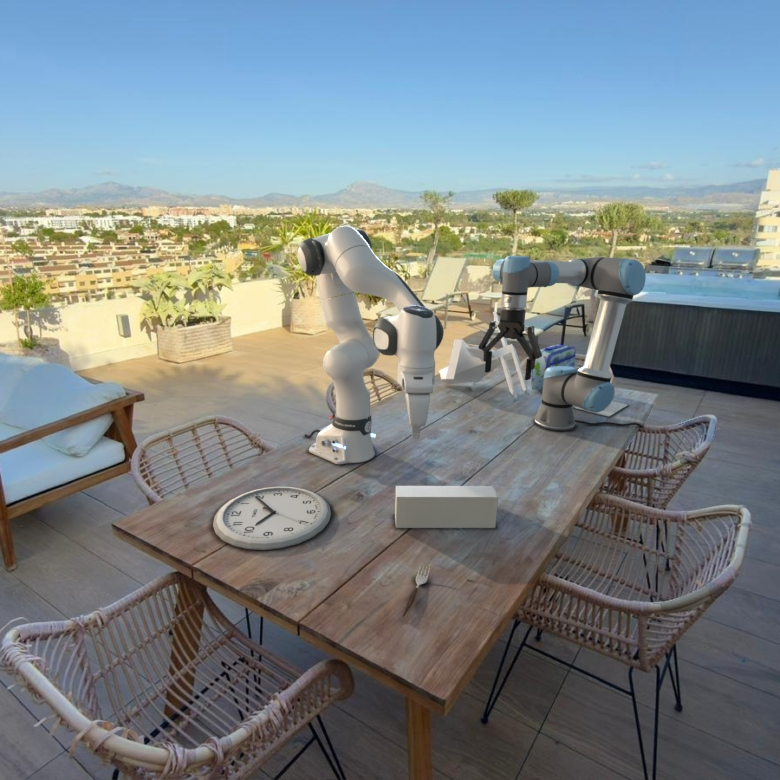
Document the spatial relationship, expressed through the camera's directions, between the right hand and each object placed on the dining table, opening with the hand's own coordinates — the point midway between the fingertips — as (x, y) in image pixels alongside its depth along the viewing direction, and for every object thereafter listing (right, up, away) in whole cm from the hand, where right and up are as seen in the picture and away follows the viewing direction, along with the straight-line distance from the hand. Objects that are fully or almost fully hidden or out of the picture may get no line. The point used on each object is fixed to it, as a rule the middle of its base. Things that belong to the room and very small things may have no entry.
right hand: (507, 375), depth 165 cm
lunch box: (+40, -4, +85) cm, 94 cm away
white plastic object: (+5, -6, +78) cm, 78 cm away
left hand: (-31, -14, -37) cm, 51 cm away
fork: (-32, -47, -56) cm, 80 cm away
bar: (-23, -39, -29) cm, 54 cm away
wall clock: (-68, -38, -28) cm, 83 cm away
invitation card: (+54, -12, +61) cm, 83 cm away
